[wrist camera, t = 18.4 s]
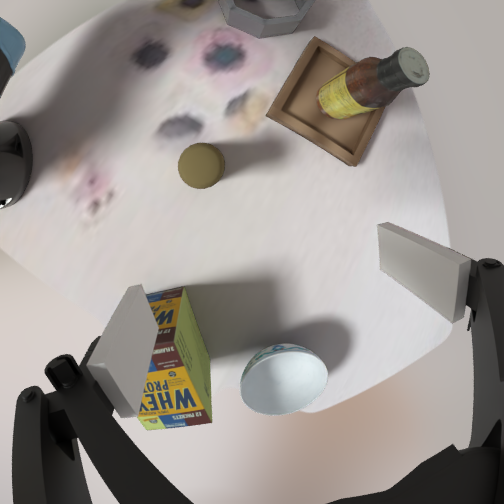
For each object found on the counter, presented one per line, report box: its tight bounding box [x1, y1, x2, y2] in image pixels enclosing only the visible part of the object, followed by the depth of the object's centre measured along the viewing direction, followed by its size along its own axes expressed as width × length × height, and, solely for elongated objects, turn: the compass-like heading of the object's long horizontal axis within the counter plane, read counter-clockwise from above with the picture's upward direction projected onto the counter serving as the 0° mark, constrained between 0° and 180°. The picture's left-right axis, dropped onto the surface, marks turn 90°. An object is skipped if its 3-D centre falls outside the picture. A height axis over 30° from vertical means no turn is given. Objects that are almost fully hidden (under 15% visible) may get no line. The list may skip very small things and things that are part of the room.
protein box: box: [137, 287, 212, 430], centre depth 40 cm, size 10×15×16 cm
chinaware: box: [240, 344, 328, 415], centre depth 48 cm, size 15×15×8 cm
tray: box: [266, 36, 386, 167], centre depth 38 cm, size 15×15×2 cm
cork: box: [178, 143, 225, 189], centre depth 35 cm, size 6×6×11 cm
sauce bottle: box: [316, 47, 430, 120], centre depth 29 cm, size 7×6×20 cm
